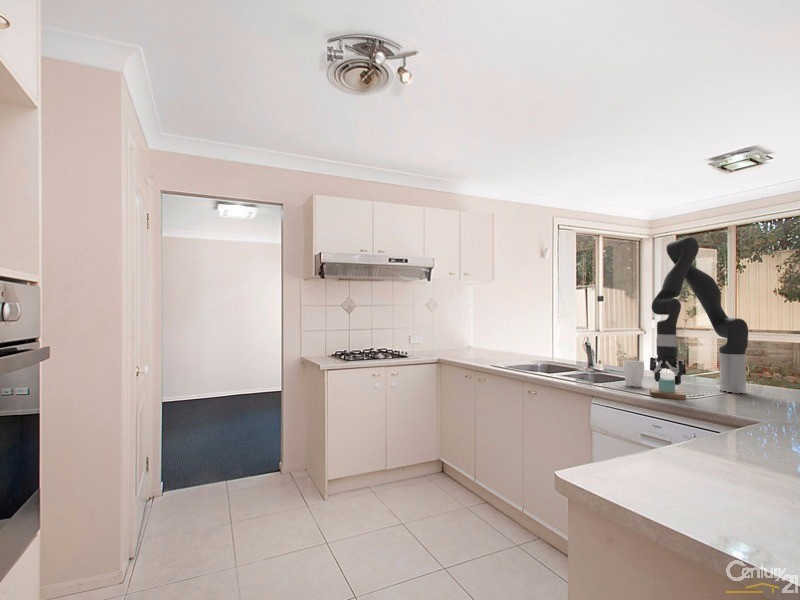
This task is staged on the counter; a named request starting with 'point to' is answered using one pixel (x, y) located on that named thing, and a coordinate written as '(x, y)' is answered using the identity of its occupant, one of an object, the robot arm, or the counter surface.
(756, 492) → the counter surface
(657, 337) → the robot arm
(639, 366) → the cup
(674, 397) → the stud block
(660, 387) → the cap
